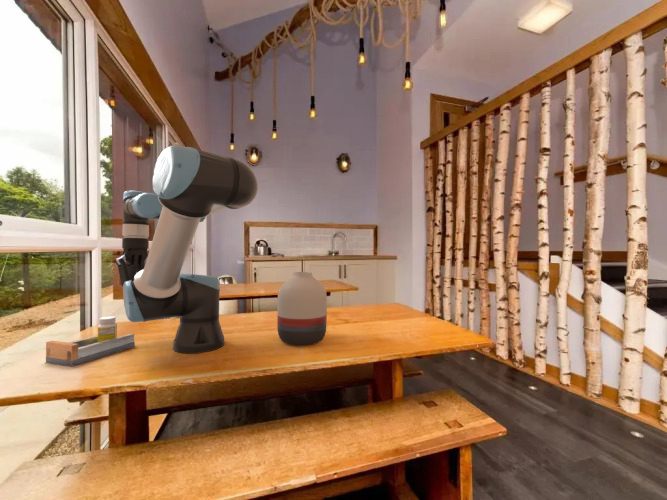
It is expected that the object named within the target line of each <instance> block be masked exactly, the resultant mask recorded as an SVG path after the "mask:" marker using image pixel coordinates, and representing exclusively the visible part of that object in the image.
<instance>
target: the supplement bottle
mask: <svg viewBox="0 0 667 500" xmlns="http://www.w3.org/2000/svg"><path fill="white" fill-rule="evenodd" d="M98 321H99V324H98V325H97V335H98V342H101V341H105V340H109V339H113V338H116V337H118V323H116V316H104V317H103V316H102V317H100V318H99V320H98Z"/></svg>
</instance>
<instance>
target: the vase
mask: <svg viewBox="0 0 667 500" xmlns="http://www.w3.org/2000/svg"><path fill="white" fill-rule="evenodd" d="M278 289H279V291H278V292H277V293H278V294H277V309H276V311H277V312H276V313H277V320H276V321H277V322H276V323H277V327H276V329H277V333H278V337H279V340H280V341H281V342H283V344H284V343H285V344H286V345H287V344H288V345H290V346H296V347H297V346H298V347H299V346H300V347H301V346H304V347H305V346H312V345H315V344H318V343H320V342H321V341H323V340H324V338H325V335H326V332H327V324H328V323H327V317H328V316H327V314H328V313H327V312H328V311H327V310H328V307H327V306H328V305H327V304H328V303H327V302H328V298H327V297H328V296H327V291H326V288H325V286H324V285H323V283H321V282H320V281H319V280H318V279H317V278H315V276H314V275H313V273H312V272H311V271H294V272H292V276H291V277H290V278H288V279H287V280H285V282H284V283H283V284H282V285H281V286H280V288H278Z"/></svg>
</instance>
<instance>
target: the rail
mask: <svg viewBox="0 0 667 500" xmlns="http://www.w3.org/2000/svg"><path fill="white" fill-rule="evenodd" d="M135 345H136V341H135V333H128V334H123V335H121V336H117V337H116V338H113V339H109V340H105V341H101V342H98V334H96V335H92V336H88V337H84V338H81V339H77V340H76V339H75V340H73V341H69V342H66V341H59V340H58V341H57V340H50V341H45V363H47V364H53V365H58V366H59V365H60V366H66V367H74V366H77V365H82V364H85V363H88V362H91V361H95V360H97V359H100V358H103V357H106V356H109V355H112V354H116V353H119V352H122V351H125V350H129V349H132V348H135V347H136V346H135Z"/></svg>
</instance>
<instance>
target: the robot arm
mask: <svg viewBox="0 0 667 500" xmlns="http://www.w3.org/2000/svg"><path fill="white" fill-rule="evenodd" d="M159 154H160V155H159V156H158V157H157V159H156V163H155V165H154V168H153V176H152V189H153V192H154V193H153V192H146V191H145V192H144V191H140V190H139V191H138V190H126V191H124V192H123V195H122V197H123V198H122V236H123V238H122V240H121V242H122V243H121V248H122V249H123V251H122V253H121V256H120V257H117V258H114V262H115V264H116V266H117V269H118V274H119V277H120V283H121V286H122V295H123V305H124V310H125V316H126V318H127V319H128V321H130V322H131V323H137V322H138V323H139V322H144V323H145V322H149V321H150V322H151V321H157V320H161V319H162V320H164V319H170V318H176V317H179V325H178V328H177V330H176V332H175V333H176V334H175V338H174V339H173V343H172V349H173V351H174V352H177V353H181V354H197V353H205V352H210V351H215V350H218V349H220V348H221V347H223V346H224V345H225V335H224V334H223V333H224V332H223V329H222V325H221V323H220V291H221V290H220V288H221V287H220V280H219V278H218V277H217V276H214V275H205V274H196V273H194V274H192V273H181V271H182V269H183V266H184V263H185V260H186V257H187V255H188V252H189V250H190V247H191V244H192V243H193V239H194V237H195V234H196V232H197V229H198V228H199V224H200V223H202V222H204V221H205V219H206V218H207V217H208V216H209V215H211V214H214V213H217V212H220V211H221V212H222V211H223V210H226V209H230V210H237V209H240V208H244V207H246V206H248V205H250V204H251V203H252V202H253V200H255V198H256V196H257V194H258V188H259V187H258V180H257V177H256V174H255V173H254V171H253V170H252V168H250V167H249V165H247V164H246V163H245V162H243V161H242V160H239V159H238V158H237V159H236V158H233V157H228V156H224V155H220V154H216V153H212V152H208V151H204V150H200V149H197V148H195V147H193V146H191V147H190V146H184V145H183V146H182V145H177V144H175V145H173V144H172V145H169V146H168V147H165V149H163V150H162V151H161V153H159ZM150 219H152V220H158V222H157V224H156V227H155V231H154V235H153V238H152V241H151V245H150V243H149V241H150V240H149V237H150ZM149 245H150V247H149ZM148 249H149V251H148ZM180 273H181V274H180Z"/></svg>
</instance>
